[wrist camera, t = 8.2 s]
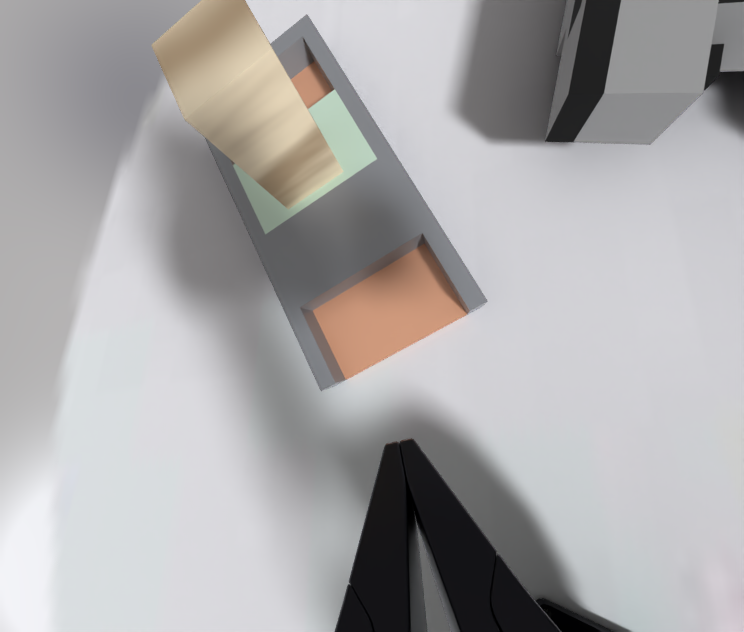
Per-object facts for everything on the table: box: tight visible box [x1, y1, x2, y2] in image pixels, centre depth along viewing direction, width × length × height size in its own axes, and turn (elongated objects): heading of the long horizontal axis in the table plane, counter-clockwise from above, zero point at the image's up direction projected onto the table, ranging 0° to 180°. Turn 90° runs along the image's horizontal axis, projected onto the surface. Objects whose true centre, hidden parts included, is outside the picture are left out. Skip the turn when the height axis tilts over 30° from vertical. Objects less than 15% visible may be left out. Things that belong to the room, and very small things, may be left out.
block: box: [152, 0, 344, 209], centre depth 17 cm, size 5×5×9 cm
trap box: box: [205, 15, 487, 391], centre depth 23 cm, size 27×12×2 cm, turn 28°
